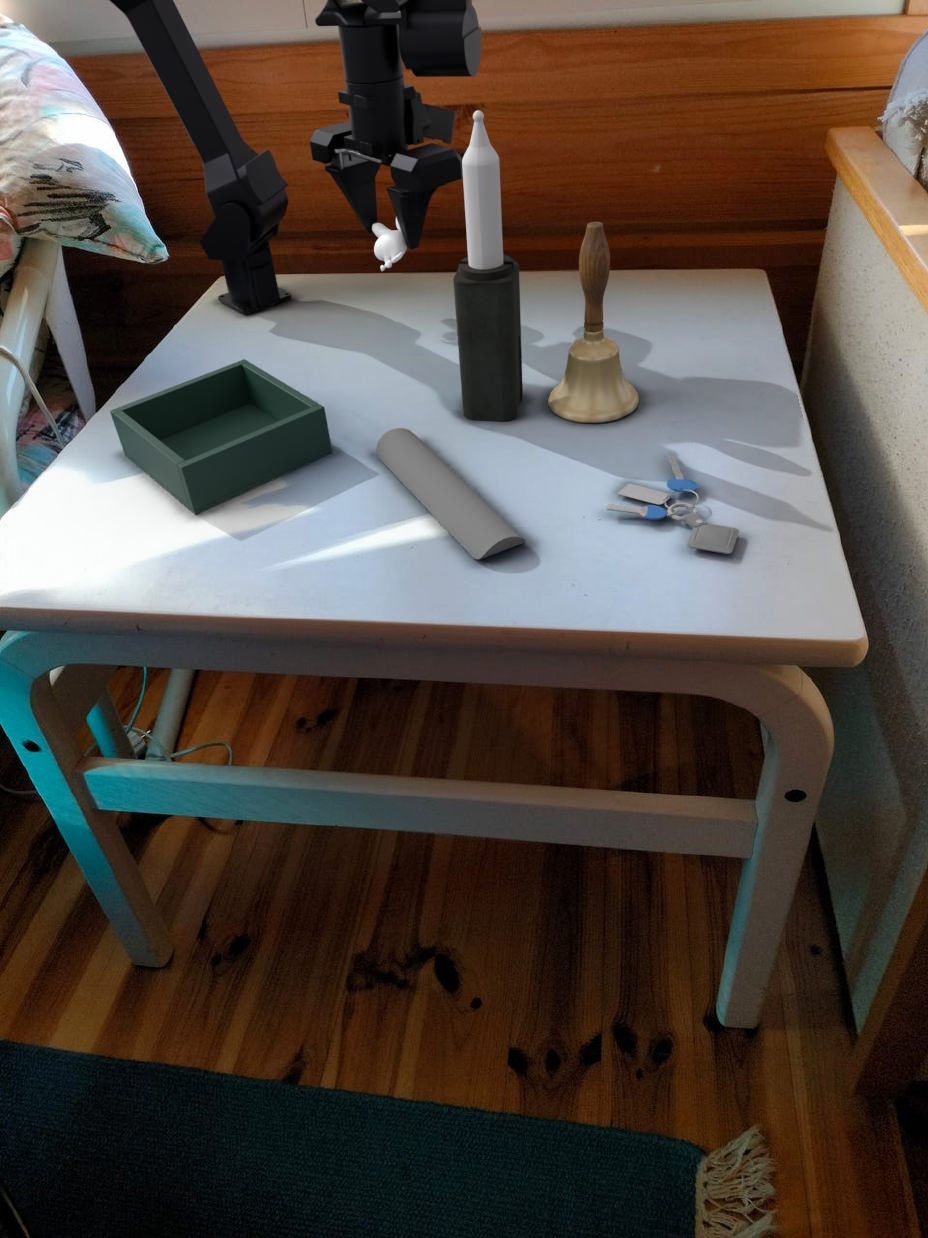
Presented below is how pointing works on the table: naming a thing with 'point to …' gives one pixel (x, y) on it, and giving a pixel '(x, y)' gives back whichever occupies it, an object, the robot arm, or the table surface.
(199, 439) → the bin
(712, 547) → the key chain
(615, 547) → the table surface
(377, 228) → the rabbit figurine
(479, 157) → the candle
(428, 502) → the half round rod
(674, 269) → the table surface
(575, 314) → the table surface
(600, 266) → the hand bell
